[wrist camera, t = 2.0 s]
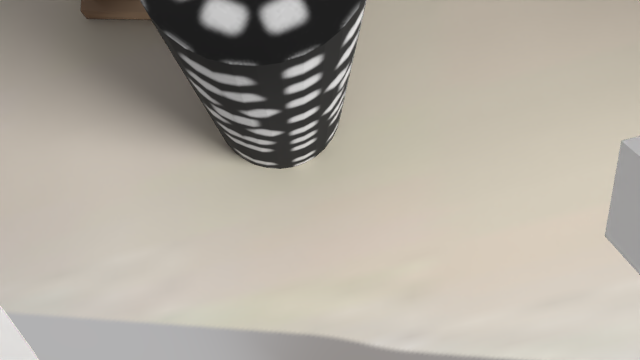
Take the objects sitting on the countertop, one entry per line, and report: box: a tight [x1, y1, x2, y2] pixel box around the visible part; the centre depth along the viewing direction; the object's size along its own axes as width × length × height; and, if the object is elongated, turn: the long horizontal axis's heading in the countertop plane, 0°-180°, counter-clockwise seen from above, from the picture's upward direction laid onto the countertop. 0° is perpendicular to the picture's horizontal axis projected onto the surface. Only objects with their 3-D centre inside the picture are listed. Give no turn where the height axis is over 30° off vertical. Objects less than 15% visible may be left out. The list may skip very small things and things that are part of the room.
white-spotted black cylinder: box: [140, 0, 366, 169], centre depth 30 cm, size 8×8×20 cm
